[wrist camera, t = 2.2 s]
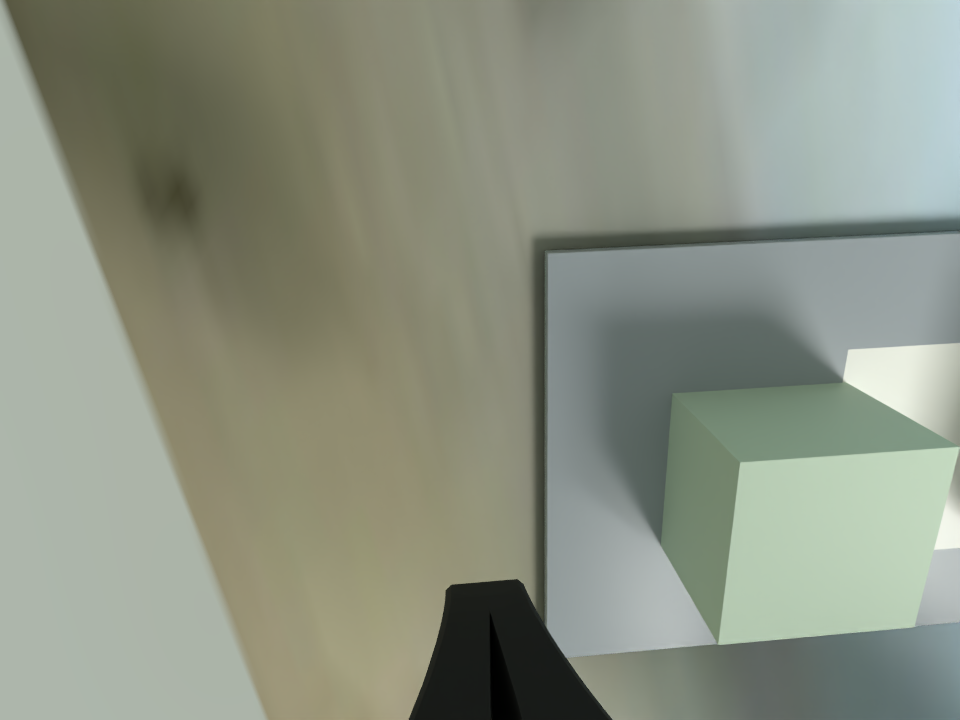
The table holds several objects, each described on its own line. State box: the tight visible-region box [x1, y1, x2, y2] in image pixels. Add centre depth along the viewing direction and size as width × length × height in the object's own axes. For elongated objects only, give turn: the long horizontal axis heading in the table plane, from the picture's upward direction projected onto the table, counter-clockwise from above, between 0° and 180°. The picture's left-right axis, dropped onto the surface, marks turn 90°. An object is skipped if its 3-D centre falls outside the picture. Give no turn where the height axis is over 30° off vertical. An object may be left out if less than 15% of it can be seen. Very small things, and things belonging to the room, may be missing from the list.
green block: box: [661, 382, 960, 645], centre depth 15 cm, size 5×5×4 cm
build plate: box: [545, 231, 960, 658], centre depth 17 cm, size 12×21×1 cm, turn 92°
